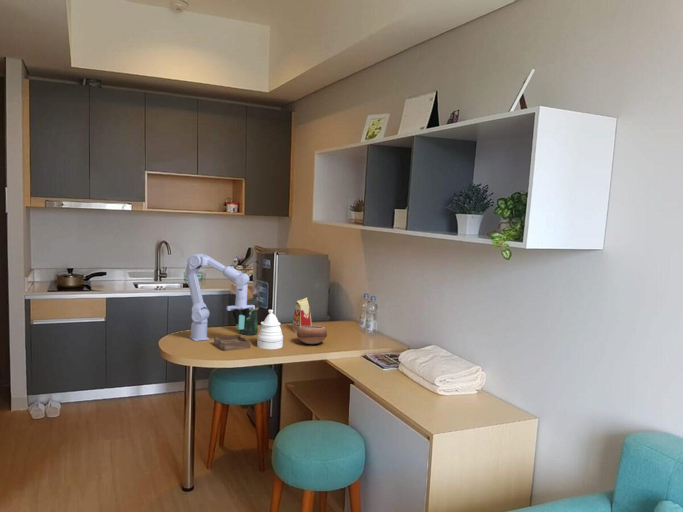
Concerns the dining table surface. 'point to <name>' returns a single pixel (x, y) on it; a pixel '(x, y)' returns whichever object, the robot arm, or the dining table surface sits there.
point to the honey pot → (270, 333)
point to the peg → (240, 322)
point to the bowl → (311, 334)
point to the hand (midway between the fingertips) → (240, 323)
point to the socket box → (232, 342)
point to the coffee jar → (251, 320)
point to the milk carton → (301, 315)
